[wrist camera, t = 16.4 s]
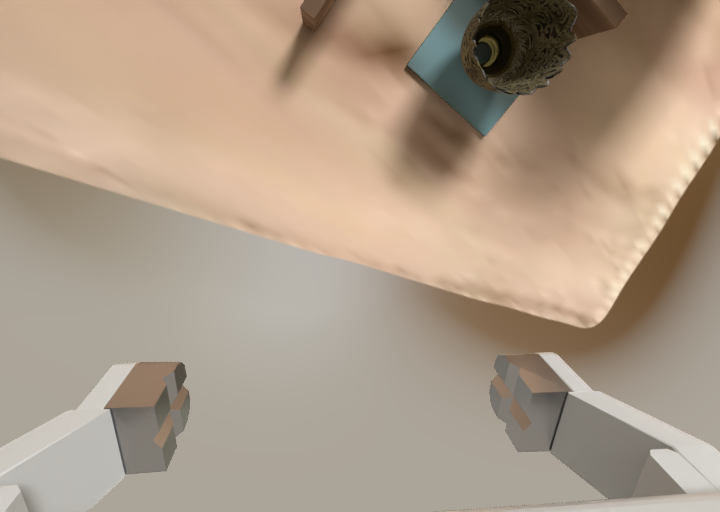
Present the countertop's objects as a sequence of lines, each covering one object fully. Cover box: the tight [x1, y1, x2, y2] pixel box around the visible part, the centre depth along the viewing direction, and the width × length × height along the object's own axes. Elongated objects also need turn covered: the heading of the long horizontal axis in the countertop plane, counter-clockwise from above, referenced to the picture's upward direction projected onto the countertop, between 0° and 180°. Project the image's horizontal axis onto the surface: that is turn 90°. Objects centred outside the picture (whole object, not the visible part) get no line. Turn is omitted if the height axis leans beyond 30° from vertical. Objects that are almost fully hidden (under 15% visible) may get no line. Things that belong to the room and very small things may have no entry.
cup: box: [461, 0, 578, 95], centre depth 30 cm, size 8×7×8 cm
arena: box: [300, 0, 627, 136], centre depth 31 cm, size 16×20×5 cm
